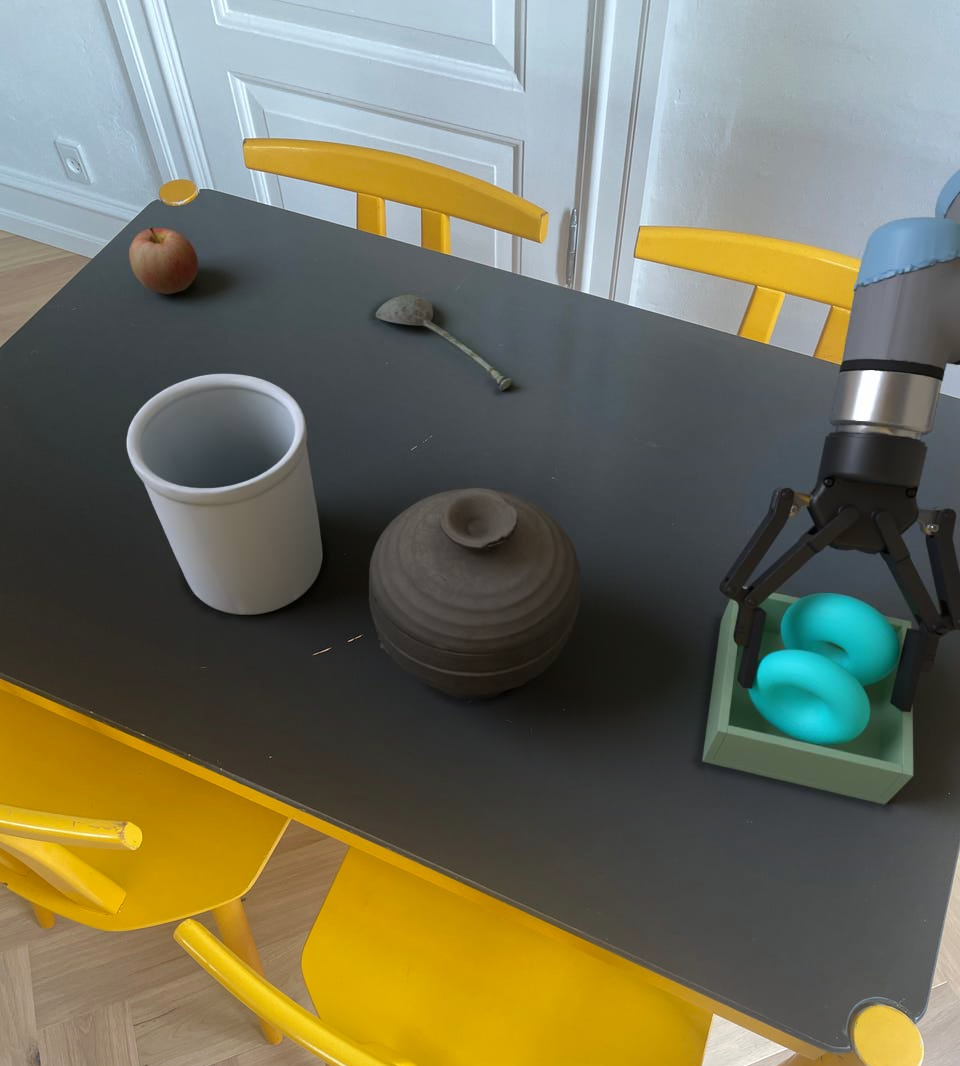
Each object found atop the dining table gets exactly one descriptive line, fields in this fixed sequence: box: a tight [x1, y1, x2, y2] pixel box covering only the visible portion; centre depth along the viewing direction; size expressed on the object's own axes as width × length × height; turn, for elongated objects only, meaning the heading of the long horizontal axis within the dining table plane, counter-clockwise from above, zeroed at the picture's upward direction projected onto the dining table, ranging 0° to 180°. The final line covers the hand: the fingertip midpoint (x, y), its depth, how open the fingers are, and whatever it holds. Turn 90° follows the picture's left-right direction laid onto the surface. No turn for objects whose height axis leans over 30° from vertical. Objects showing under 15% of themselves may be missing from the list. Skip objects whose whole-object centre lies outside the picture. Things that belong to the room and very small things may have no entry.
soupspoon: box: [375, 294, 513, 391], centre depth 107 cm, size 22×3×7 cm
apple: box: [128, 226, 199, 295], centre depth 111 cm, size 8×8×8 cm
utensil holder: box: [126, 373, 323, 616], centre depth 82 cm, size 15×15×18 cm
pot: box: [368, 487, 581, 701], centre depth 76 cm, size 18×18×20 cm
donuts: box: [748, 592, 900, 745], centre depth 75 cm, size 10×10×10 cm
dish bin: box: [702, 585, 914, 805], centre depth 78 cm, size 16×16×6 cm
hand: (821, 696), depth 74 cm, fingers closed on donuts, 12 cm apart
